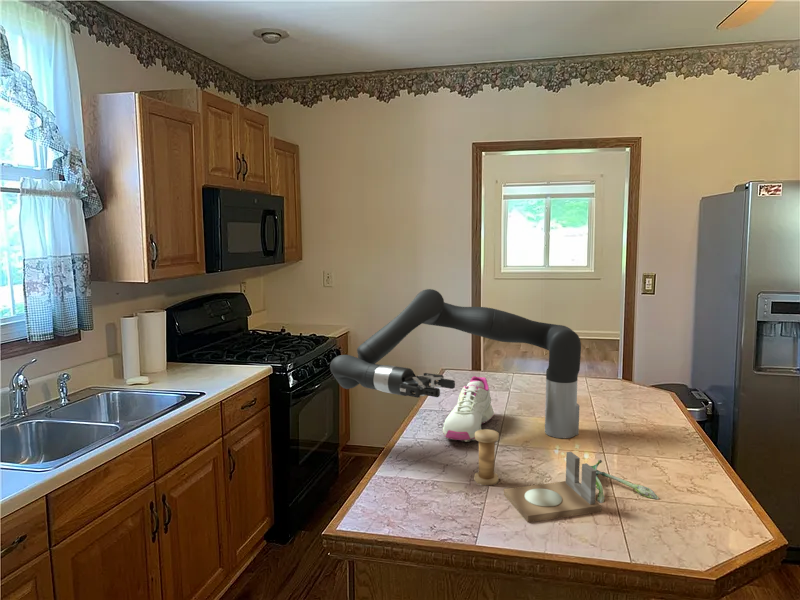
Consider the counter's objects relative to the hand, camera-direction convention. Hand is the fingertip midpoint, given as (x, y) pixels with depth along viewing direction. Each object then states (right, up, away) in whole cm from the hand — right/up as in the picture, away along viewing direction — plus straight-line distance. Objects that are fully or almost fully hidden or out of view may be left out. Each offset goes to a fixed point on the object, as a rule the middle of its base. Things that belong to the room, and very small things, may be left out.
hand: (446, 388), depth 149 cm
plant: (+41, -24, -9) cm, 49 cm away
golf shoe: (+10, -18, +32) cm, 38 cm away
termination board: (+23, -24, -15) cm, 37 cm away
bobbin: (+10, -23, -3) cm, 25 cm away
